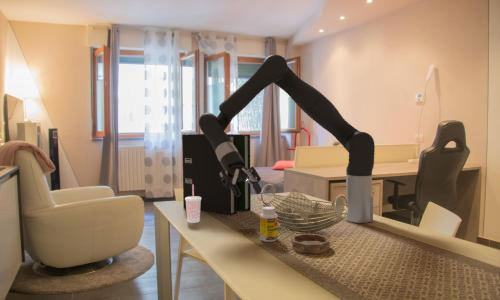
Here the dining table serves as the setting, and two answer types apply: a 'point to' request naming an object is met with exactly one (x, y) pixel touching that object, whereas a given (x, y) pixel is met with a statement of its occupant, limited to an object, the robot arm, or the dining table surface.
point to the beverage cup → (193, 207)
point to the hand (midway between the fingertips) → (249, 194)
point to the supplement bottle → (268, 224)
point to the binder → (213, 175)
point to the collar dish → (310, 243)
